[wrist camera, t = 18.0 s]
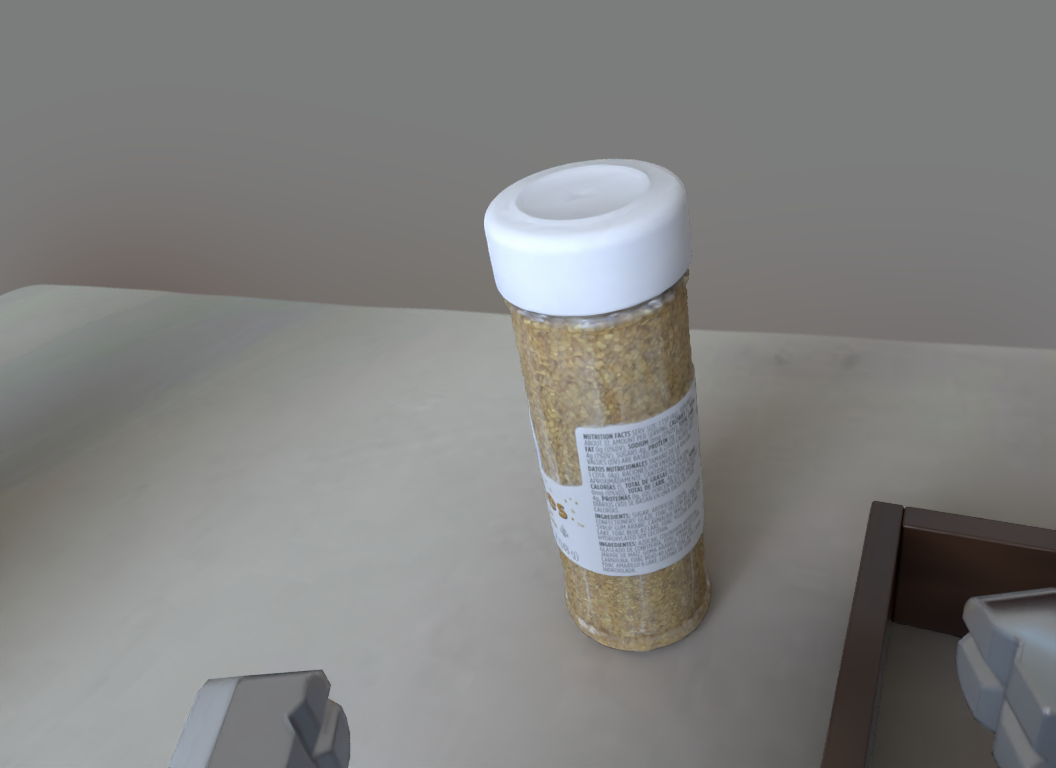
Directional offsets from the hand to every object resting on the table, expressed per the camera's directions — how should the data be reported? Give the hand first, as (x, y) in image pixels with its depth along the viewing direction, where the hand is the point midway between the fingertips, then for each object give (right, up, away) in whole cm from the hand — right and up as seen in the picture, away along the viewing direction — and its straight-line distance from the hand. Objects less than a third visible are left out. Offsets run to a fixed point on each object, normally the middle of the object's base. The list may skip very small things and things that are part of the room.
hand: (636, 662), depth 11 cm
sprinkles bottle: (+2, -3, +15) cm, 16 cm away
